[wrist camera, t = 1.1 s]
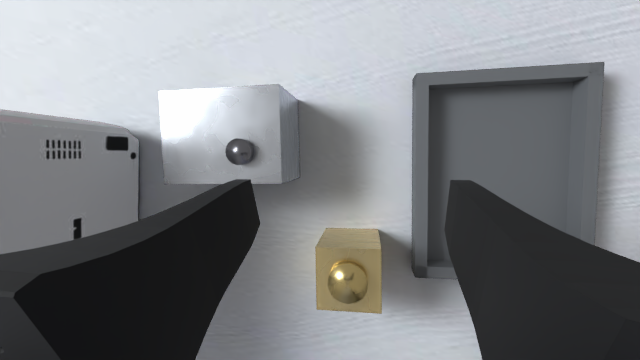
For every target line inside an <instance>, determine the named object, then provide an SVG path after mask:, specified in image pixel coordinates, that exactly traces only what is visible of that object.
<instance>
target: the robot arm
mask: <svg viewBox="0 0 640 360" xmlns="http://www.w3.org/2000/svg"><path fill="white" fill-rule="evenodd" d="M259 225H260V221H259V216H258V212H257V207H256V202H255V198H254V193H253V188H252V184H251V179H235V180H232V181H229V182H227V183H224V184H222V185H220V186H217V187H215V188H213V189H211V190H209V191H207V192H204V193H202V194H200V195H198V196H196V197H194V198H192V199H190V200H188V201H185V202H183V203H181V204H179V205H176V206H174V207H172V208H169V209H167V210H165V211H163V212H160V213H158V214H155V215H153V216H150V217H147V218H145V219H142V220H139V221H136V222H134V223H131V224H128V225H125V226H121V227H118V228H115V229H111V230H108V231H105V232H101V233H98V234H94V235H91V236H87V237H83V238H79V239H75V240H71V241H67V242H62V243H58V244H53V245H49V246H44V247H39V248H34V249H28V250H23V251H17V252H11V253H5V254H0V360H195V359H196V356H197V354H198V351H199V349H200V346H201V344H202V341H203V339H204V336H205V334H206V332H207V329H208V327H209V325H210V322H211V320H212V318H213V316H214V313H215V311H216V309H217V307H218V304H219V302H220V300H221V299H222V297H223V295H224V293H225V291H226V289H227V288H228V286H229V284H230V282H231V281H232V279H233V277H234V275H235V274H236V272H237V270H238V269H239V267H240V265H241V263H242V262H243V260H244V258H245V256H246V255H247V253H248V251H249V249H250V247H251V246H252V243H253V241H254V238H255V236H256V233H257V231H258V228H259ZM444 231H445V237H446V242H447V247H448V251H449V256H450V258H451V261H452V264H453V267H454V270H455V273H456V276H457V278H458V281H459V284H460V287H461V289H462V292H463V295H464V298H465V300H466V303H467V306H468V309H469V311H470V314H471V317H472V321H473V324H474V327H475V331H476V335H477V339H478V343H479V347H480V351H481V355H482V359H483V360H640V263H639V262H636V261H634V260H631V259H628V258H626V257H623V256H620V255H618V254H615V253H612V252H609V251H607V250H604V249H602V248H599V247H597V246H594V245H592V244H590V243H587V242H585V241H583V240H580V239H578V238H576V237H574V236H572V235H569V234H567V233H565V232H563V231H560V230H558V229H556V228H554V227H552V226H550V225H548V224H546V223H544V222H542V221H541V220H539V219H537V218H535V217H533V216H531V215H529V214H527V213H526V212H524V211H522V210H520V209H519V208H517V207H515V206H514V205H512V204H510V203H508V202H507V201H505V200H503V199H502V198H500V197H499V196H497V195H495V194H494V193H492V192H491V191H489V190H487V189H486V188H484V187H482V186H481V185H479V184H477V183H475V182H473V181H471V180H450V187H449V195H448V204H447V212H446V220H445V228H444Z"/></svg>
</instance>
